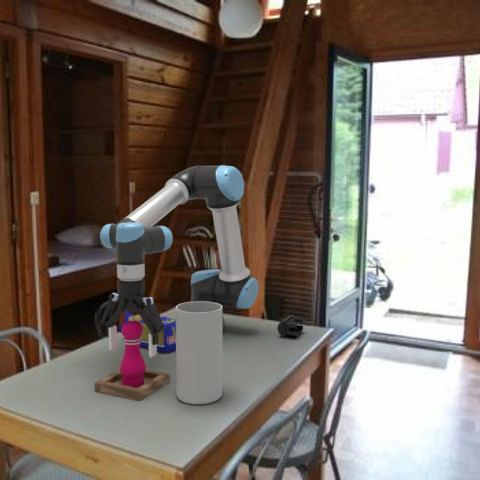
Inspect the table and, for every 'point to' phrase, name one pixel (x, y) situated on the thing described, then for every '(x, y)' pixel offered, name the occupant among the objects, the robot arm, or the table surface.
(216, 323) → the cylinder vase
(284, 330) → the end cap
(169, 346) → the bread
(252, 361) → the table surface
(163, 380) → the walnut holder
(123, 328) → the pepper mill
